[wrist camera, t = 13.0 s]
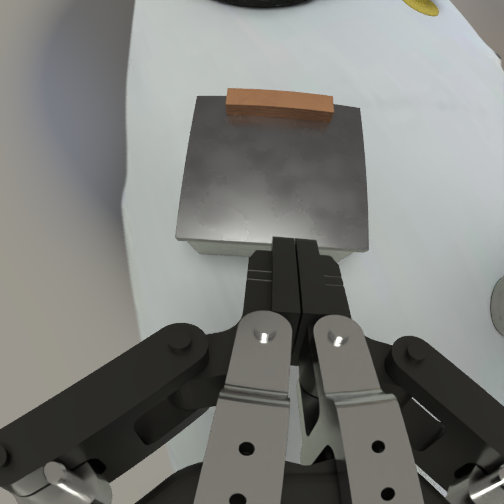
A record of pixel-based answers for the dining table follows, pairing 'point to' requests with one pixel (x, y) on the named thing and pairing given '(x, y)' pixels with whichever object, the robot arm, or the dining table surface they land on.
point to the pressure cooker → (263, 2)
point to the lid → (274, 171)
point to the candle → (423, 6)
